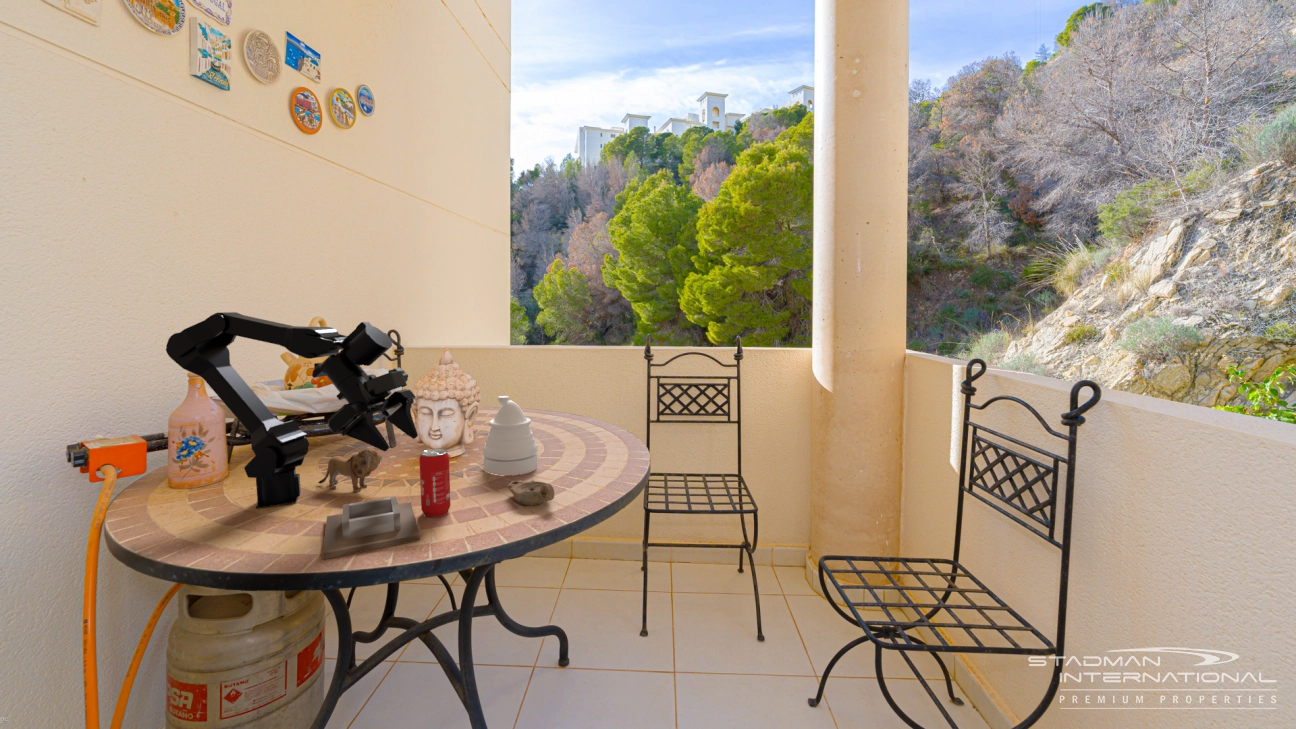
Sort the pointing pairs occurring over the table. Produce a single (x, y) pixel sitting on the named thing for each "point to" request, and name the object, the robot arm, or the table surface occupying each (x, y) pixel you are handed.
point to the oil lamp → (531, 492)
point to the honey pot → (510, 442)
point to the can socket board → (369, 527)
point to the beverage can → (435, 482)
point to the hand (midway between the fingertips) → (402, 443)
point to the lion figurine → (353, 468)
